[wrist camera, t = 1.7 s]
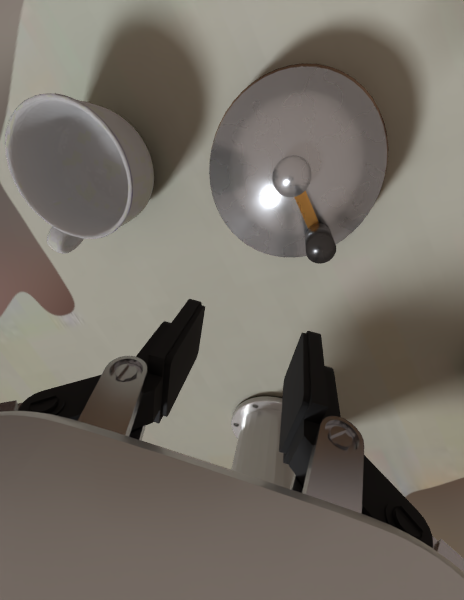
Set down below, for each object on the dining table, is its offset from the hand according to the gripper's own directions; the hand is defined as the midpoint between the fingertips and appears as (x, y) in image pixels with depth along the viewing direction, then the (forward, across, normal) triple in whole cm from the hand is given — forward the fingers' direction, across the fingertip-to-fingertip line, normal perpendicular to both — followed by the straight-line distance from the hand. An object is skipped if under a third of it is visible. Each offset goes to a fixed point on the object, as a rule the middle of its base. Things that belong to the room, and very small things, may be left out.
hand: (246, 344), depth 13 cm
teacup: (+20, +18, -1) cm, 27 cm away
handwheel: (+17, 0, -6) cm, 18 cm away
